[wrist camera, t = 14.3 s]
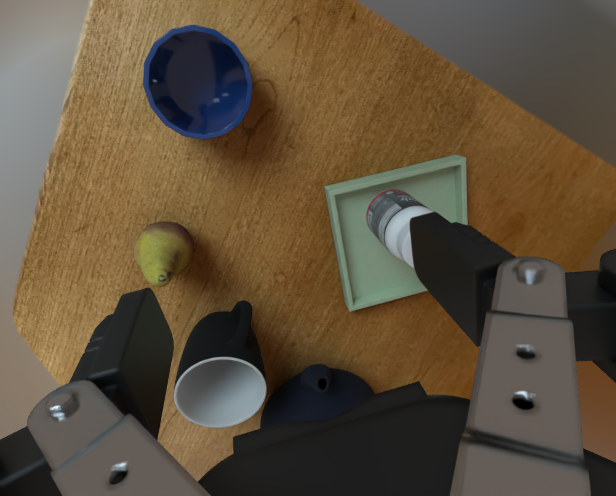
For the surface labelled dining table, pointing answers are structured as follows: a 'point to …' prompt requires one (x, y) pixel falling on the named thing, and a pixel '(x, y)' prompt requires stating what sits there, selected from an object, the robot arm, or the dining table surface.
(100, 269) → the dining table surface
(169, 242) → the fruit
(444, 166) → the tray
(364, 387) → the teapot
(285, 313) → the dining table surface
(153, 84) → the pen cup
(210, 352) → the mug
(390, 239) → the pill bottle
